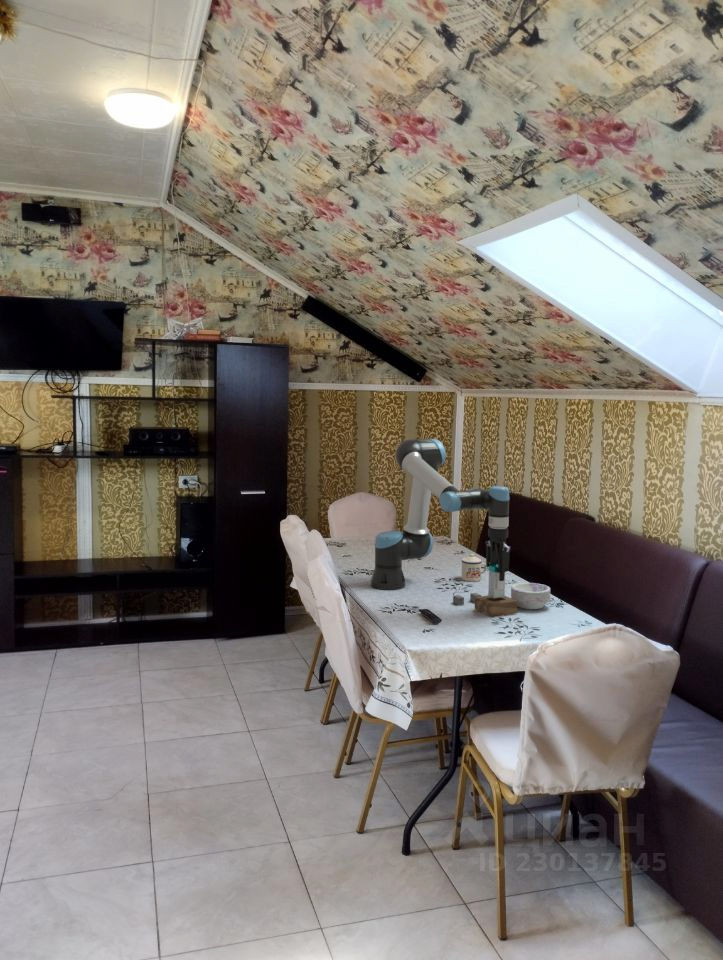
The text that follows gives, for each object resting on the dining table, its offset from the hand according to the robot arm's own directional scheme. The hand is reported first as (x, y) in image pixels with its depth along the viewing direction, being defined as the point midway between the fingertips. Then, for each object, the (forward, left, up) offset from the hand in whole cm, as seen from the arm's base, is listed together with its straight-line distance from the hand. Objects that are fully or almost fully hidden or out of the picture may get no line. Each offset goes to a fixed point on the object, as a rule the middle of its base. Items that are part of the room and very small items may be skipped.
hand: (496, 587), depth 290 cm
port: (0, 0, -10) cm, 10 cm away
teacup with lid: (-46, +22, -10) cm, 52 cm away
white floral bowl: (0, +17, -10) cm, 19 cm away
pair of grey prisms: (-15, -3, -10) cm, 18 cm away
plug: (0, 0, -4) cm, 4 cm away
